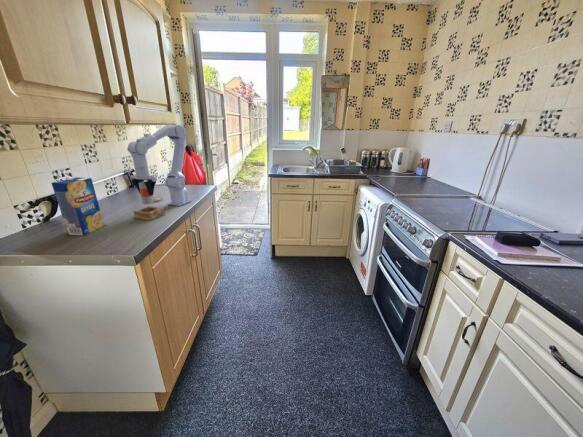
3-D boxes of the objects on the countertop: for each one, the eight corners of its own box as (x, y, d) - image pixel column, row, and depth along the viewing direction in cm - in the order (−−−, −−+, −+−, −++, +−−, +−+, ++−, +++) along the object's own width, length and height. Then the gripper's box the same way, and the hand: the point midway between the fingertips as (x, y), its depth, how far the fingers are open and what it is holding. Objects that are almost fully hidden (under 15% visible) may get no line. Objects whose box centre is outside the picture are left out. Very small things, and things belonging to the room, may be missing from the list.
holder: (149, 212, 130) (148, 206, 128) (164, 214, 127) (162, 208, 126) (134, 218, 121) (133, 211, 120) (149, 220, 119) (148, 213, 118)
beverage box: (104, 225, 112) (91, 177, 104) (83, 235, 102) (67, 183, 94) (90, 224, 113) (76, 177, 105) (68, 234, 102) (51, 182, 95)
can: (148, 201, 129) (144, 180, 125) (156, 202, 128) (152, 181, 124) (140, 203, 125) (135, 182, 121) (148, 204, 123) (144, 183, 119)
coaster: (152, 197, 155) (152, 197, 155) (164, 199, 153) (164, 198, 153) (140, 201, 147) (140, 200, 147) (152, 203, 145) (152, 202, 145)
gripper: (122, 167, 118) (128, 194, 123) (146, 169, 114) (152, 197, 119) (134, 165, 124) (140, 191, 129) (158, 167, 121) (162, 194, 126)
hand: (146, 194), depth 125 cm, fingers closed on can, 5 cm apart
